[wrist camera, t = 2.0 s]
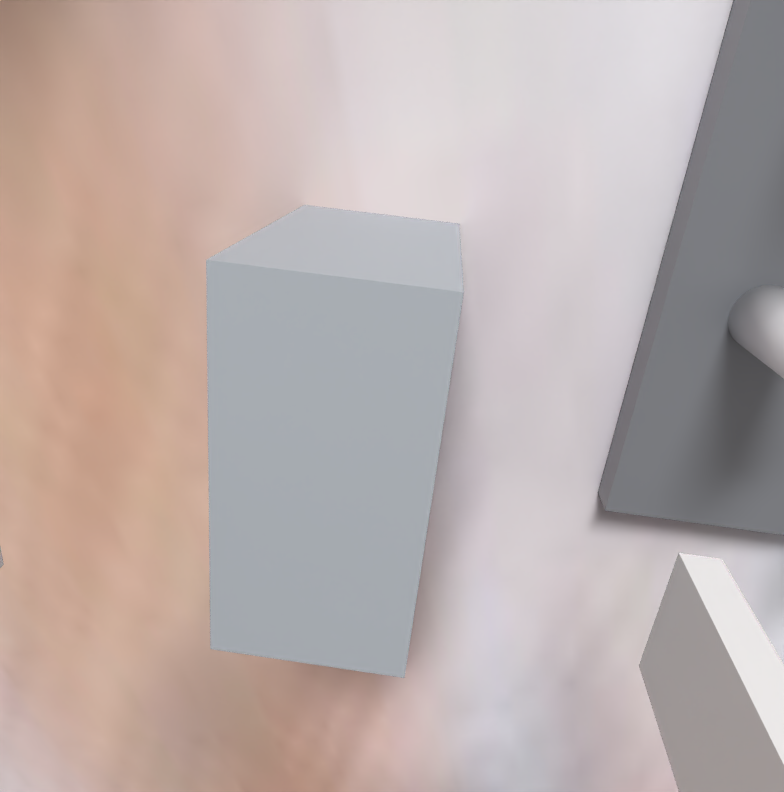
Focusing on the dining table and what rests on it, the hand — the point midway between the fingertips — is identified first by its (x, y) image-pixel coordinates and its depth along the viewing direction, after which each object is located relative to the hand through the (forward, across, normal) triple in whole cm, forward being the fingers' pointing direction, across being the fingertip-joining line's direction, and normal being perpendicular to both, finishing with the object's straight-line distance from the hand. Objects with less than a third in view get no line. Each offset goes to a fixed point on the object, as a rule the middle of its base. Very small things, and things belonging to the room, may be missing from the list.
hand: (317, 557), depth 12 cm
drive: (+11, -1, 0) cm, 11 cm away
